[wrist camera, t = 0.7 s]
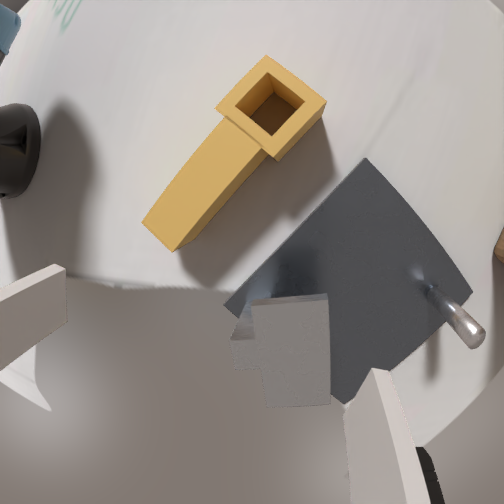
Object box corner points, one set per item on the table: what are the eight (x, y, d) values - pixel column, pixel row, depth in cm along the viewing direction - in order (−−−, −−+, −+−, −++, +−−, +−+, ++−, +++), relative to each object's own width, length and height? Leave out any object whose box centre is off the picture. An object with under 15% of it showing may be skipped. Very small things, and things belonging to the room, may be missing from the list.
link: (272, 77, 26) (266, 54, 20) (321, 116, 26) (326, 101, 21) (160, 206, 31) (132, 213, 25) (202, 246, 31) (181, 261, 26)
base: (225, 301, 33) (192, 355, 22) (363, 158, 27) (398, 147, 16) (343, 399, 34) (350, 463, 23) (469, 288, 28) (519, 330, 17)
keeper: (319, 260, 30) (328, 299, 20) (324, 344, 32) (330, 404, 22) (243, 267, 31) (217, 307, 21) (255, 348, 33) (238, 407, 24)
